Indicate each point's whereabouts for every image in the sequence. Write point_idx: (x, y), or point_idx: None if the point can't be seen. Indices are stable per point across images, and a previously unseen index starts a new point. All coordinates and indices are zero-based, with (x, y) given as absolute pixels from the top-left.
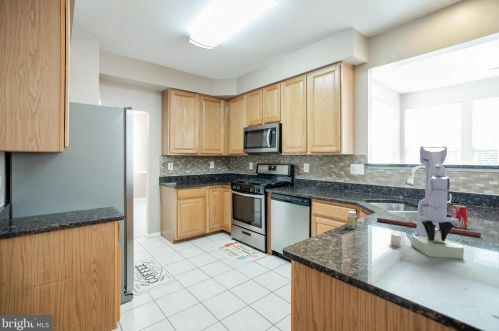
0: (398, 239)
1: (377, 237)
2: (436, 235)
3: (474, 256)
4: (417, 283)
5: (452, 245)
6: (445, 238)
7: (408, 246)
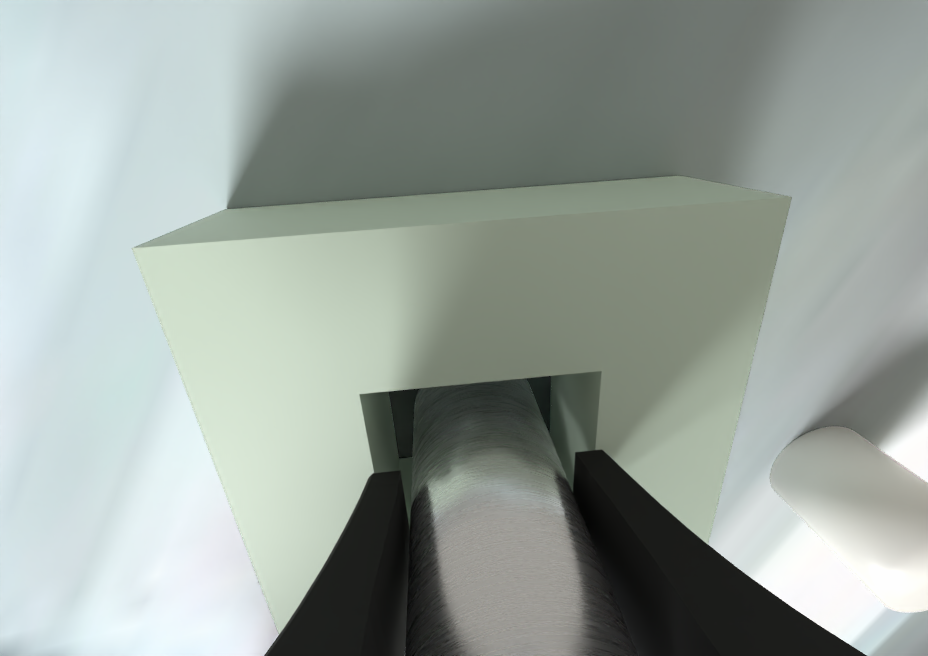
0: (905, 490)
1: (838, 610)
2: (558, 531)
3: (35, 339)
4: None
5: (299, 352)
6: (361, 508)
7: None
